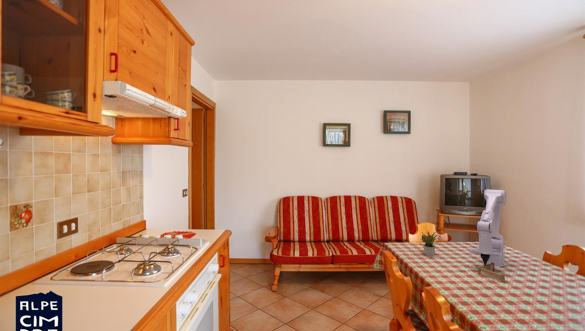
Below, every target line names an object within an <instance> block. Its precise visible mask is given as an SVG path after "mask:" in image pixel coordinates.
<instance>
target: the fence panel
mask: <svg viewBox="0 0 585 331" xmlns="http://www.w3.org/2000/svg"><path fill="white" fill-rule="evenodd" d="M480 266H481V268H483V269H486V270H489V271H492V272H496V271H495V267H494V263H491V264H487V265H484V264H481V265H480Z"/></svg>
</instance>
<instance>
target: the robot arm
mask: <svg viewBox="0 0 585 331" xmlns="http://www.w3.org/2000/svg"><path fill="white" fill-rule="evenodd" d="M483 197H484V199H485V201H486V205H485V209H483V211H482V213H481V216H480V220H479V221H477V223H476V229H477V234H478V248H468V249H469V251H468V252H469V253H470V254H472V253H473V254H479V255H480V258H481V260H482V264H483V265H487V264H491V263H494V268H502V267H505V266H507V264H505V263H506V262H505V261H506V257H505V255H506V254H505V252H504V250H505V245H506V242H505V238H504V236H503V235H502V234H500V225H501V223H500V222H501V213H502V207H503V206H505V205H506V203H507V191H506V190H505V189H488V188H486V189H484V191H483Z"/></svg>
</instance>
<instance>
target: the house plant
mask: <svg viewBox="0 0 585 331" xmlns="http://www.w3.org/2000/svg"><path fill="white" fill-rule="evenodd" d="M420 233H421V237H422V238H421V239H420V240H422V242H424V244H423V245H422V246H423V252H424V256H426V257H429V258H430V257H434V256H435V251H436V250H435V249H436V245H434V244H437V245H438V243H439V241H438V240H436V239H438V238H437V237H438V236H440V235H441V236H442V235H443V233H442V234H439V233H438V234H436V233H437V231H434V232H433V233H432V235H431V233H430V232H429V230H426V233H427V236H426V234H424V232H422V231H420ZM435 240H436V241H435Z"/></svg>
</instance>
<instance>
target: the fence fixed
mask: <svg viewBox="0 0 585 331" xmlns="http://www.w3.org/2000/svg"><path fill="white" fill-rule="evenodd" d="M481 266H482V265H477V274H478V275H481V276H482V277H483V276H484V277H486V278H489V279H492V280H495V281H497V282H500V283H503V284H505V282H506V274H505V273H503V272H502V273H498V272H496V271H489V270H486V269H483V268H481Z"/></svg>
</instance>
